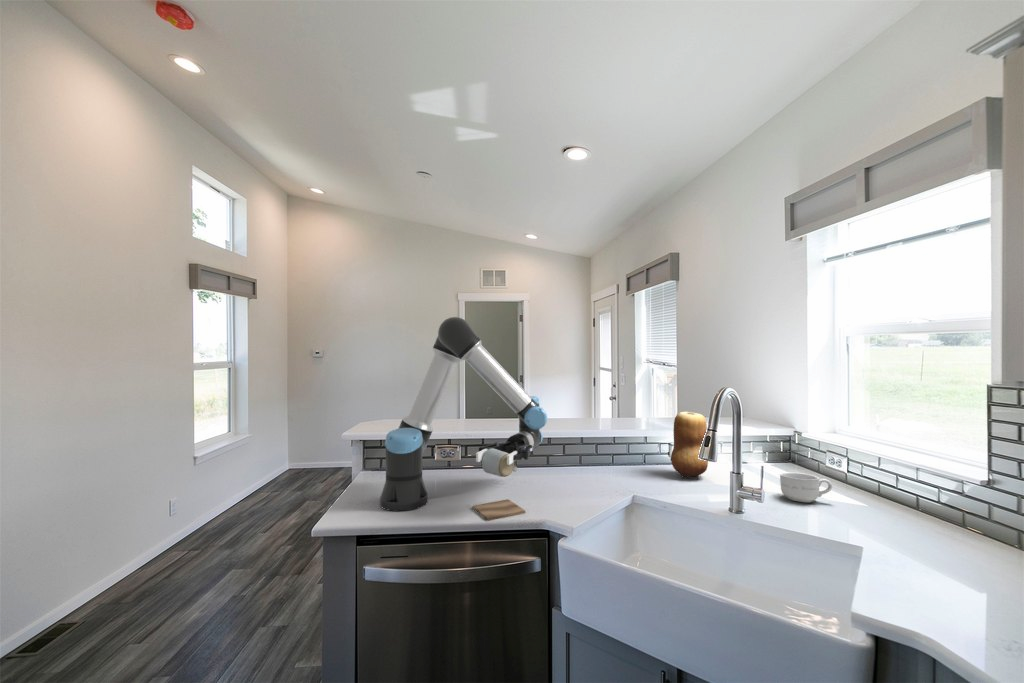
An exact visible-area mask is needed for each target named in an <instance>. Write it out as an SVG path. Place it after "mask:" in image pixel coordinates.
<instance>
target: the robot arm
mask: <svg viewBox="0 0 1024 683" xmlns="http://www.w3.org/2000/svg"><path fill="white" fill-rule="evenodd" d="M432 351H433V353H434V354H433V358H432V360H431V362H430V364H429V367H428V369H427V371H426V374H425V375H424V378H423V380H422V383H421V385H420V388H419V390H418V393H417V394H416V397H415V399H414V402H413V405H412V407H411V409H410V412H409V413H408V415H407V416H405V417H403V418H402V420H401V421H400V423H399V426H398V428H395V429H392V430H391V431H389V432H388V433H387V434H386V437H385V442H384V446H385V481H384V485H383V488H382V491H381V494H380V498H379V506H380V505H381V507H383V508H385V509H389V510H388V511H390V510H405V511H410V510H409V509H412V510H416V509H418V507H419V508H421V506H422V507H424V506H425V505H427V504H428V502H429V494H428V491H427V487H426V484H425V482H424V479H423V455H424V452H425V451H426V449H427V446H428V443H429V440H430V438H431V436H432V433H433V430H434V429H433V426H432V422H433V421H434V417H435V416H436V413H437V411H438V409H439V406H440V403H441V401H442V398H443V396H444V394H445V392H446V389H447V387H448V385H449V382H450V380H451V377H452V375H453V372H454V370H455V368H456V366H457V363H461V362H462V361H465V362H466V363H467V364H468V365H469V366H470V367H471V368H472V369H473V370H474V372H476V374H478V375H479V376H480V378H481V379H482V380H484V382H485V383H486V384H487V385H488V386H489V387H490V388H491V389H492V390H493V391H494V392H495V393H496V394H497V395H498V396H499V397H500V398H501V399H502V400H503V402H504V403H506V404H507V406H508V407H509V408H510V409H511V410H512V411H513V412H514V413H515V414H516V415H517V416H518V429H519V430H518V432H517V433H515V434H513V435H511V436H509V437H508V438H507V440H506V441H505V442H503V443H499V442H493V443H492V444H491V443H490V444H487V445H484V446H480V447H478V451H477V452H475V463H479V462H482V458H483V455H484V453H485V452H486V451H487V450H488V449H491V448H494V449H497V450H500V451H503V452H506V453H508V454H509V455H507V465H510V464H512V463H513V462H517V461H519V460H520V461H521V460H523V459H524V460H527V461H528V460H529V458H530V456H531V454H533V450H534V449H536V448H537V447H538V446H540V444H542V442H543V439H544V434H543V432H542V430H541V429H542V428H544V427H545V426H546V424H547V421H548V415H547V413H546V412H547V411H546V410H545V409H544V408H543V407H541V406H540V402H539V401H540V399H539V397H538V396H536V395H534V396H532V395H530V394H529V393H528V392H526V390H525V389H524V388H523V386H521V385H520V384H519V383H518V382H517V381H516V380H515V379H514V377H513V376H511V375H510V373H509V372H508V371H507V370H506V369H505V368H504V367H503V366H502V365H501V364H500V363H499V362H498V361H497V360H496V358H494V357H493V355H492V354H491V353H490V352H489V351H488V350H487V349H486V348H485V347H484V346H483V345H482V340H481V338H480V337H479V336H478V335H477V334H476V333H475V331H474V330H473V328H472V327H471V325H470V324H469V323H468V322H467V321H466V320H465V319H463V318H462V317H460V316H458V317H457V316H453V317H452V316H451V317H448V318H446V319H445V320H443V321H442V323H441V324H440V325H439V327H438V330H437V337H436V339H435V342H434V345H433V346H432ZM426 503H427V504H426ZM423 505H424V506H423ZM381 507H380V508H381ZM383 508H382V509H383ZM415 508H416V509H415ZM385 509H384V510H385Z"/></svg>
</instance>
